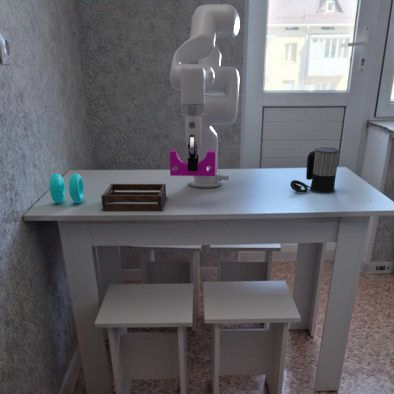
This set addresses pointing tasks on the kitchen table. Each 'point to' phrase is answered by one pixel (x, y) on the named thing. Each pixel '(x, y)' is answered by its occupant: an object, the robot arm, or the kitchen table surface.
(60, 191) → the donuts
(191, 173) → the magenta cradle bracket
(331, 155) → the milk frother
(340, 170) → the kitchen table surface
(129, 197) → the crate
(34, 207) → the kitchen table surface
